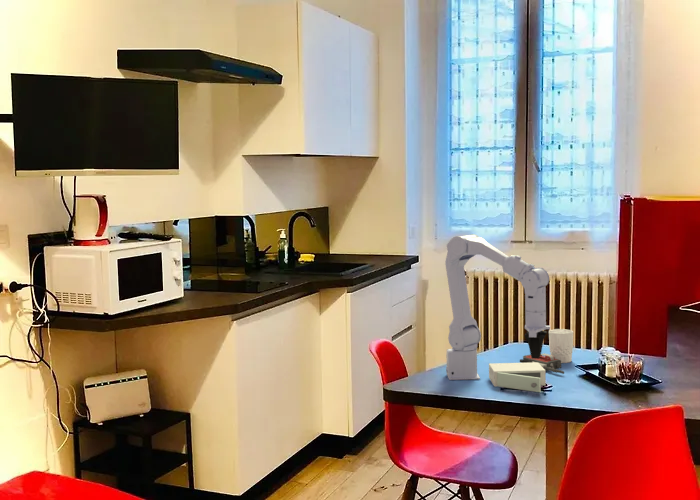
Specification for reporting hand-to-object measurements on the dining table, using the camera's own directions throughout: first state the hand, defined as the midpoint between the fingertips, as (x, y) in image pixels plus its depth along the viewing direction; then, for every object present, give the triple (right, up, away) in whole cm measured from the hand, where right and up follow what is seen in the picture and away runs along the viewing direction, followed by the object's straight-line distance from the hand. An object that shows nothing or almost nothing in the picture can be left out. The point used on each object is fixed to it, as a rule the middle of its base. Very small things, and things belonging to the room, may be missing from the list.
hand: (536, 357), depth 219 cm
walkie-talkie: (+10, -8, +25) cm, 28 cm away
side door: (-5, -9, 0) cm, 11 cm away
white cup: (+17, -6, +34) cm, 39 cm away
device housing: (-3, -9, +10) cm, 14 cm away
